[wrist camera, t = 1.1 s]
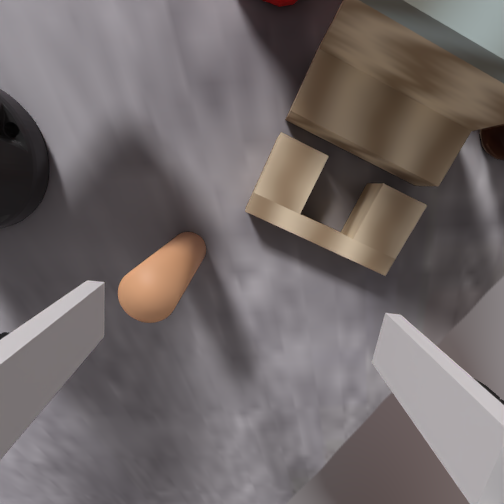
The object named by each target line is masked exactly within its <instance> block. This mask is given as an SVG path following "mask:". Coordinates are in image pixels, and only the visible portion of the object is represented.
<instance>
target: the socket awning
mask: <svg viewBox="0 0 504 504" xmlns="http://www.w3.org/2000/svg"><path fill="white" fill-rule="evenodd" d="M286 121H288V122H290V123H292V124H294V125H296V126H298V127H300V128H302V129H304V130H306V131H308V132H310V133H312V134H314V135H316V136H318V137H320V138H322V139H324V140H326V141H328V142H330V143H332V144H334V145H336V146H338V147H340V148H342V149H344V150H346V151H348V152H350V153H352V154H354V155H356V156H357V157H359V158H361V159H363V160H365V161H367V162H369V163H371V164H373V165H375V166H377V167H379V168H381V169H383V170H385V171H387V172H389V173H391V174H393V175H395V176H397V177H399V178H401V179H403V180H405V181H407V182H409V183H411V184H413V185H415V186H439V185H440V183H441V182H442V180H443V178H444V176H445V175H446V173H447V171H448V170H449V168H450V166H451V165H452V163H453V161H454V160H455V158H456V156H457V155H458V153H459V151H460V150H461V148H462V146H463V145H464V143H465V141H466V139H467V138H468V136H469V134H470V133H471V131H474V130H479V129H483V128H488V127H492V126H497V125H501V124H504V0H343V1H342V3H341V5H340V7H339V9H338V11H337V13H336V15H335V16H334V18H333V20H332V22H331V24H330V26H329V28H328V30H327V32H326V34H325V36H324V38H323V39H322V41H321V43H320V45H319V47H318V49H317V51H316V53H315V55H314V58H313V60H312V62H311V64H310V66H309V69H308V71H307V73H306V75H305V78H304V80H303V82H302V84H301V86H300V89H299V91H298V93H297V95H296V98H295V100H294V102H293V104H292V106H291V109H290V111H289V113H288V115H287V117H286ZM328 157H329V156H328V155H326V154H324V153H322V152H320V151H318V150H316V149H314V148H312V147H310V146H308V145H306V144H304V143H302V142H300V141H298V140H296V139H294V138H292V137H290V136H288V135H286V134H284V133H282V132H281V133H280V135H279V136H278V138H277V140H276V142H275V144H274V146H273V148H272V151H271V153H270V155H269V157H268V160H267V162H266V164H265V166H264V168H263V171H262V173H261V175H260V177H259V179H258V182H257V184H256V186H255V188H254V191H253V193H252V195H251V197H250V199H249V202H248V204H247V206H246V210H245V212H247V213H250V214H252V215H254V216H256V217H258V218H261V219H263V220H265V221H267V222H269V223H271V224H274V225H276V226H278V227H280V228H282V229H284V230H287V231H289V232H291V233H293V234H295V235H297V236H300V237H302V238H304V239H306V240H308V241H311V242H313V243H315V244H317V245H319V246H321V247H324V248H326V249H328V250H330V251H332V252H334V253H337V254H339V255H341V256H343V257H345V258H347V259H350V260H352V261H354V262H356V263H358V264H361V265H363V266H365V267H367V268H369V269H371V270H374V271H376V272H378V273H380V274H382V275H384V276H386V274H387V272H388V271H389V269H390V267H391V266H392V264H393V262H394V261H395V259H396V257H397V256H398V254H399V252H400V250H401V249H402V247H403V245H404V244H405V242H406V240H407V239H408V237H409V235H410V234H411V232H412V230H413V229H414V227H415V225H416V224H417V222H418V220H419V219H420V217H421V215H422V213H423V212H424V210H425V208H426V207H427V205H426V204H424V203H422V202H420V201H418V200H416V199H414V198H412V197H410V196H408V195H406V194H404V193H402V192H400V191H398V190H396V189H394V188H392V187H390V186H388V185H386V184H383V183H367V184H366V186H365V188H364V190H363V192H362V194H361V195H360V197H359V199H358V201H357V203H356V205H355V207H354V208H353V210H352V212H351V214H350V216H349V218H348V220H347V222H346V223H345V225H344V227H343V229H342V231H341V232H339V231H337V230H335V229H332V228H330V227H328V226H326V225H324V224H322V223H320V222H318V221H315V220H313V219H311V218H309V217H307V216H305V215H303V214H301V211H302V209H303V207H304V205H305V203H306V201H307V199H308V197H309V195H310V193H311V191H312V189H313V187H314V185H315V183H316V181H317V179H318V177H319V175H320V173H321V171H322V169H323V167H324V165H325V163H326V161H327V159H328Z"/></svg>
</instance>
